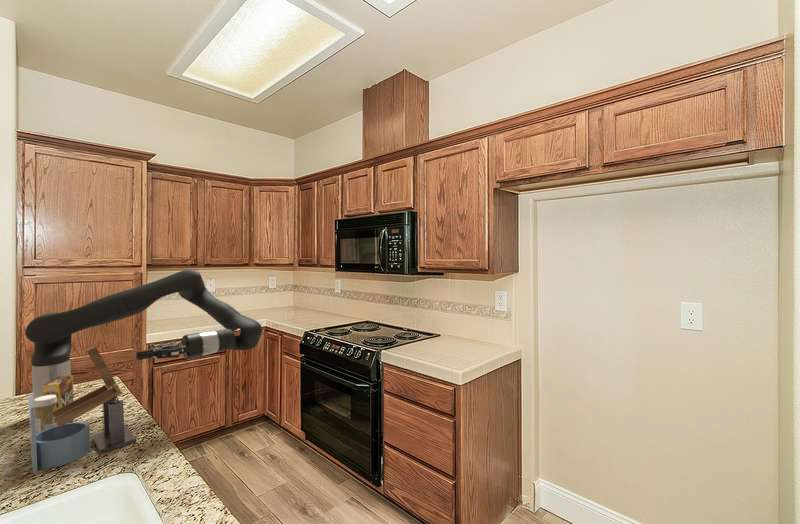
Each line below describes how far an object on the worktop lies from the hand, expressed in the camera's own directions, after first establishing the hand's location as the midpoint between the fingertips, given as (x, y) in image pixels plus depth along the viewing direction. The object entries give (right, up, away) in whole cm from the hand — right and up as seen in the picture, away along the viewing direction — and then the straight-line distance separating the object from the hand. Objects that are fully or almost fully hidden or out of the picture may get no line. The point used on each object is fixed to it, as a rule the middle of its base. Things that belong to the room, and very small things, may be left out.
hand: (136, 356), depth 109 cm
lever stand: (-4, -23, -4) cm, 23 cm away
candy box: (-25, -23, +3) cm, 34 cm away
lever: (-7, -13, -7) cm, 16 cm away
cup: (-11, -23, -12) cm, 28 cm away
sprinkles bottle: (-21, -23, -6) cm, 32 cm away
